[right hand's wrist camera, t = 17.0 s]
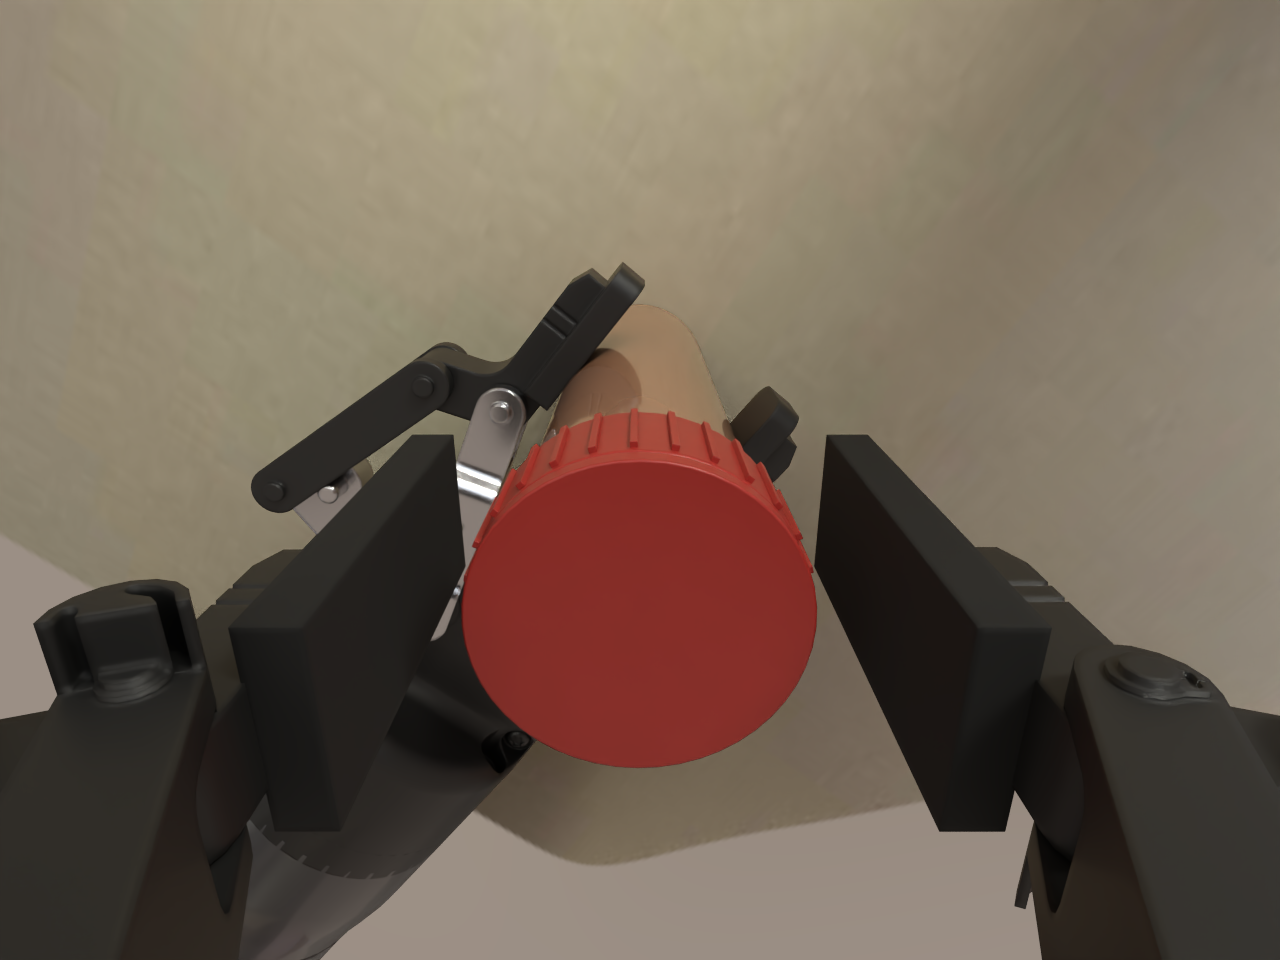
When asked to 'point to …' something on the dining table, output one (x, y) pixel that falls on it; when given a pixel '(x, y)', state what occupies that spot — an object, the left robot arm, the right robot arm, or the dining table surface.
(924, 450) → the dining table surface
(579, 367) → the left robot arm
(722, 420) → the jar
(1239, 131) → the dining table surface
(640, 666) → the lid
